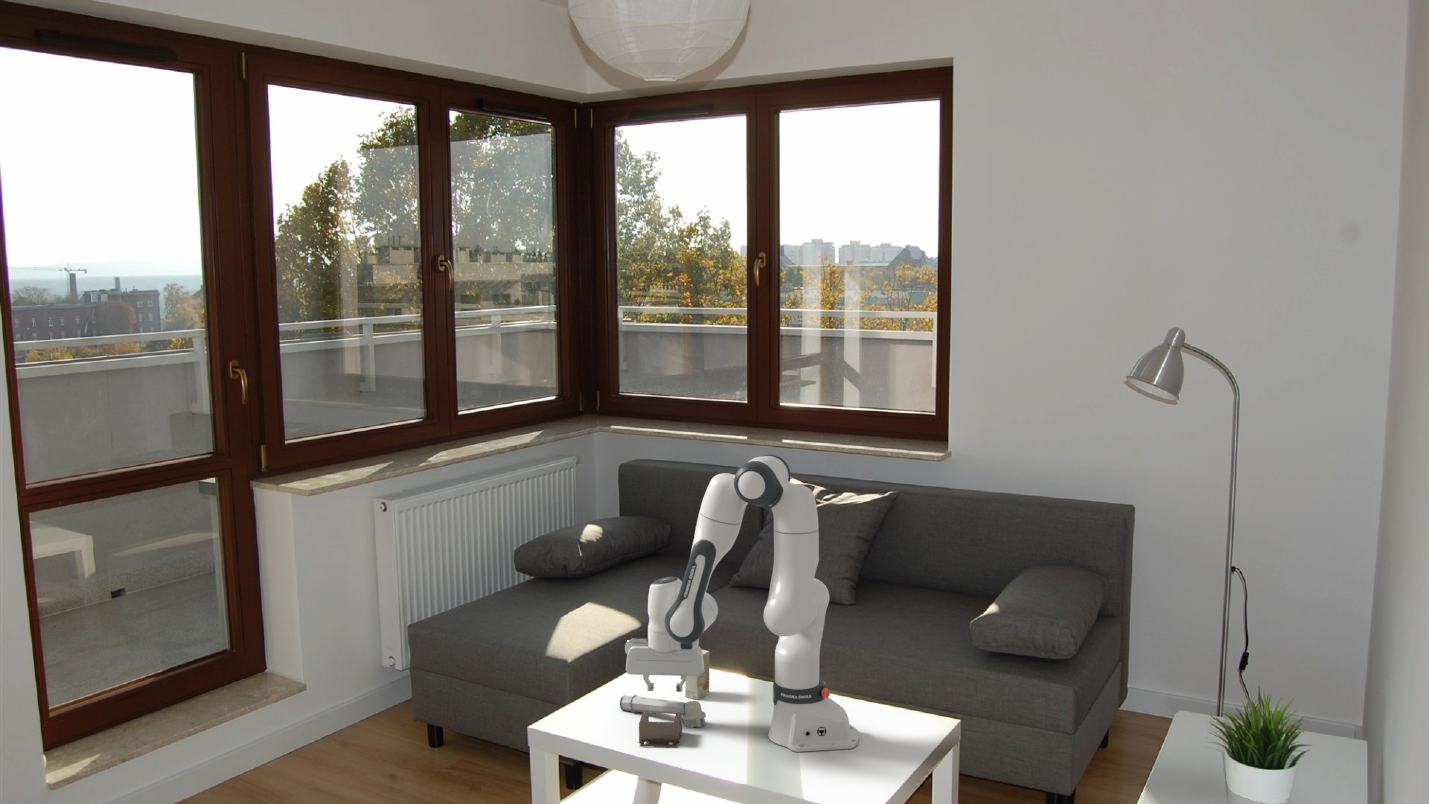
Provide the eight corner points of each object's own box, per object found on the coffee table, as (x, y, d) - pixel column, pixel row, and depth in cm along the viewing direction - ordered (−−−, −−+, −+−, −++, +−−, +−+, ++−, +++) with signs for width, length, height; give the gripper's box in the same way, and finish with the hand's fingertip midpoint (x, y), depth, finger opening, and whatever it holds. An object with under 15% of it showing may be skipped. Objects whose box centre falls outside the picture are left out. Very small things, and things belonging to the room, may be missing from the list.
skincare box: (697, 700, 294) (697, 657, 293) (684, 697, 296) (684, 654, 295) (710, 693, 300) (710, 650, 298) (697, 690, 302) (697, 647, 301)
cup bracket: (682, 732, 272) (681, 713, 272) (678, 747, 263) (678, 727, 263) (642, 731, 273) (642, 712, 273) (638, 746, 264) (637, 727, 263)
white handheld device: (628, 692, 290) (707, 696, 278) (631, 716, 290) (710, 721, 278) (617, 698, 286) (697, 702, 273) (620, 722, 286) (700, 728, 273)
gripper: (623, 642, 276) (623, 694, 277) (702, 643, 275) (702, 696, 276) (626, 634, 282) (627, 685, 283) (704, 636, 281) (704, 687, 282)
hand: (665, 690), depth 280 cm, fingers open, 6 cm apart
